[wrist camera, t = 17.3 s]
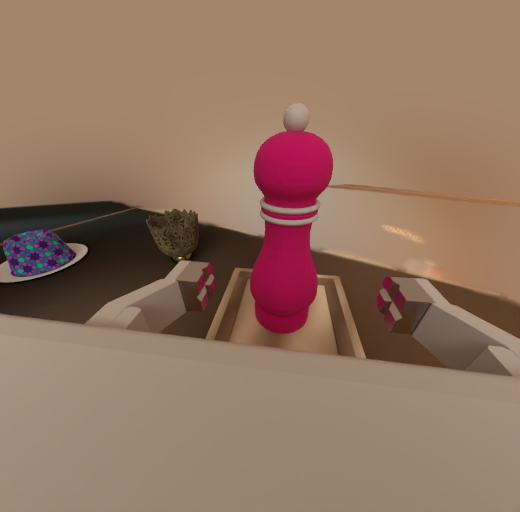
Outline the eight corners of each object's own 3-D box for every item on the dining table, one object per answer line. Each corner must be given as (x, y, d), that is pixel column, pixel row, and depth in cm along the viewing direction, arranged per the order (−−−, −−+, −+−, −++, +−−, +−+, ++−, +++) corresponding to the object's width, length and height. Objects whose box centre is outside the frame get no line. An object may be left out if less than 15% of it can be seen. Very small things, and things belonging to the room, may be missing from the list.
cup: (190, 245, 39) (182, 205, 35) (212, 258, 35) (206, 215, 31) (152, 260, 35) (137, 216, 30) (173, 278, 30) (159, 230, 26)
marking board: (194, 370, 19) (193, 365, 18) (235, 270, 32) (235, 266, 32) (375, 397, 17) (378, 392, 16) (338, 279, 30) (339, 275, 30)
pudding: (-24, 275, 31) (-51, 246, 28) (63, 242, 41) (49, 218, 38) (21, 294, 28) (-5, 263, 25) (104, 253, 37) (92, 227, 35)
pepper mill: (239, 307, 24) (223, 104, 14) (283, 284, 28) (297, 110, 18) (277, 351, 20) (298, 88, 9) (324, 317, 23) (378, 101, 13)
